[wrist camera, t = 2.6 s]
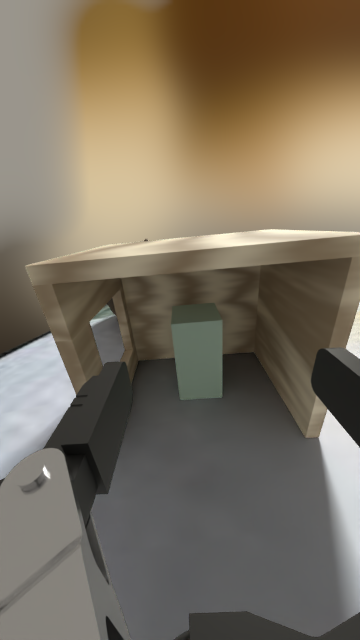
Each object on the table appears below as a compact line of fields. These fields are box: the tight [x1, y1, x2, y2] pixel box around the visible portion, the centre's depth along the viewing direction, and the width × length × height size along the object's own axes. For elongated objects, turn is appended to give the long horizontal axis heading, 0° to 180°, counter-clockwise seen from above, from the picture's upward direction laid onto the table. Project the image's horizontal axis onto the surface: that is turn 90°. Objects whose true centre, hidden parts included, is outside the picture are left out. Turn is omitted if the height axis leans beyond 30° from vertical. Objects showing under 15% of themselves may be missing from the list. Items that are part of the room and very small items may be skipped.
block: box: [171, 303, 222, 400], centre depth 24 cm, size 5×5×10 cm
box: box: [25, 229, 360, 438], centre depth 22 cm, size 20×15×17 cm
